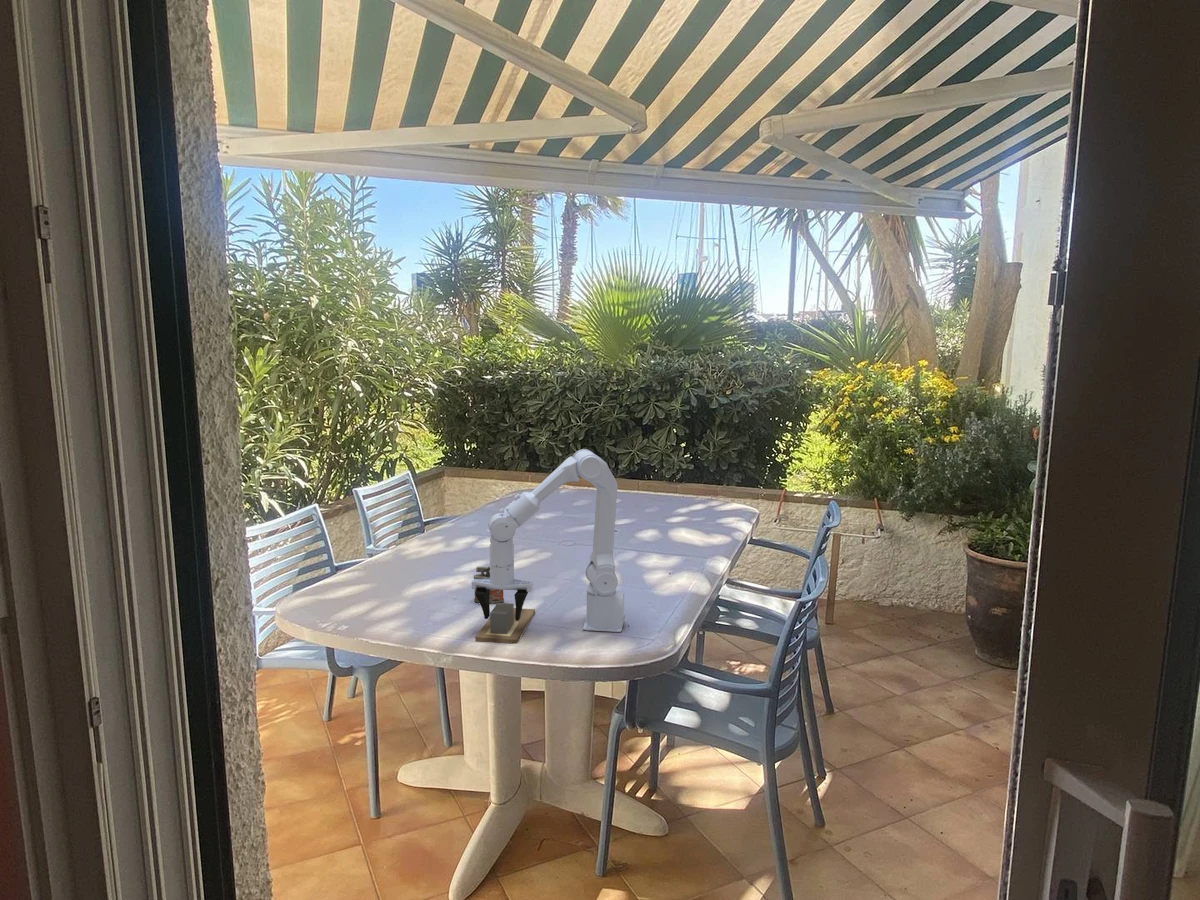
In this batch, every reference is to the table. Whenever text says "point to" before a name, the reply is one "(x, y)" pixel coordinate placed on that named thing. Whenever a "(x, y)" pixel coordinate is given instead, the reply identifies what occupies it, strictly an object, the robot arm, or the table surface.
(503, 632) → the block
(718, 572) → the table surface
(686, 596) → the table surface
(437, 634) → the table surface
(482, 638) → the pin board
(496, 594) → the lighter
